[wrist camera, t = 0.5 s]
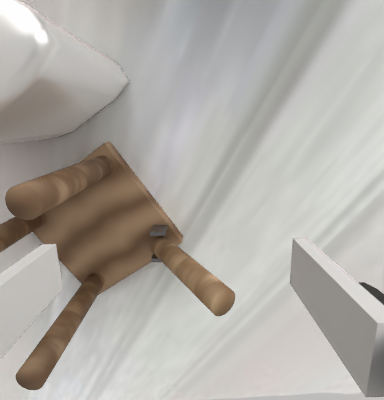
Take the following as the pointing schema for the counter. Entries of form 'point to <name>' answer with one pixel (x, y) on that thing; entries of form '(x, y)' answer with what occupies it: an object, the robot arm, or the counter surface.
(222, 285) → the folding leg
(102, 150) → the footstool
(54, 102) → the white canister
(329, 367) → the counter surface
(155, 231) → the hinge bracket
